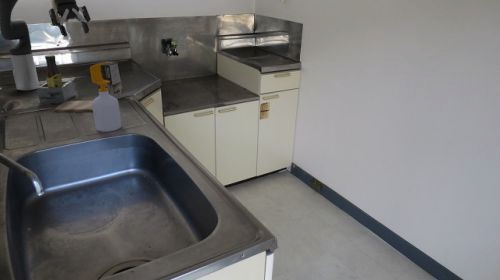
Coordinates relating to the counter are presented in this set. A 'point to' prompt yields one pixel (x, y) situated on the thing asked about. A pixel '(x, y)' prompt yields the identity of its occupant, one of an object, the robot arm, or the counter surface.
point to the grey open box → (56, 93)
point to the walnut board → (75, 106)
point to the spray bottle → (104, 104)
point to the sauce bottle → (52, 72)
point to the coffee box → (112, 78)
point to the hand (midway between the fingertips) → (76, 34)
